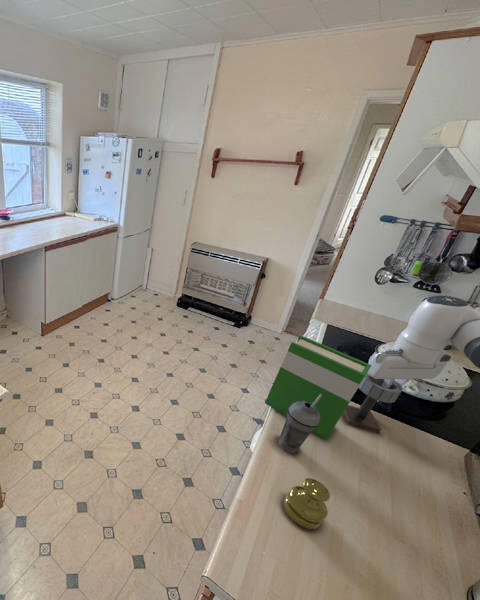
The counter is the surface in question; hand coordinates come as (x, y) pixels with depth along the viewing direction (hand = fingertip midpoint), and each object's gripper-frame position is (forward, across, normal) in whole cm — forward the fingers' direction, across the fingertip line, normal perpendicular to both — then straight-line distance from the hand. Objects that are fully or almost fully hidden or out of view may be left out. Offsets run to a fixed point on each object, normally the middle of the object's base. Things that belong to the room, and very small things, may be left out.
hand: (390, 387), depth 96 cm
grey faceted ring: (+2, -4, 0) cm, 4 cm away
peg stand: (+13, -4, 0) cm, 14 cm away
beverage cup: (+14, -34, -9) cm, 38 cm away
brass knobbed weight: (+14, -44, -27) cm, 53 cm away
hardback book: (+14, -23, +2) cm, 27 cm away
